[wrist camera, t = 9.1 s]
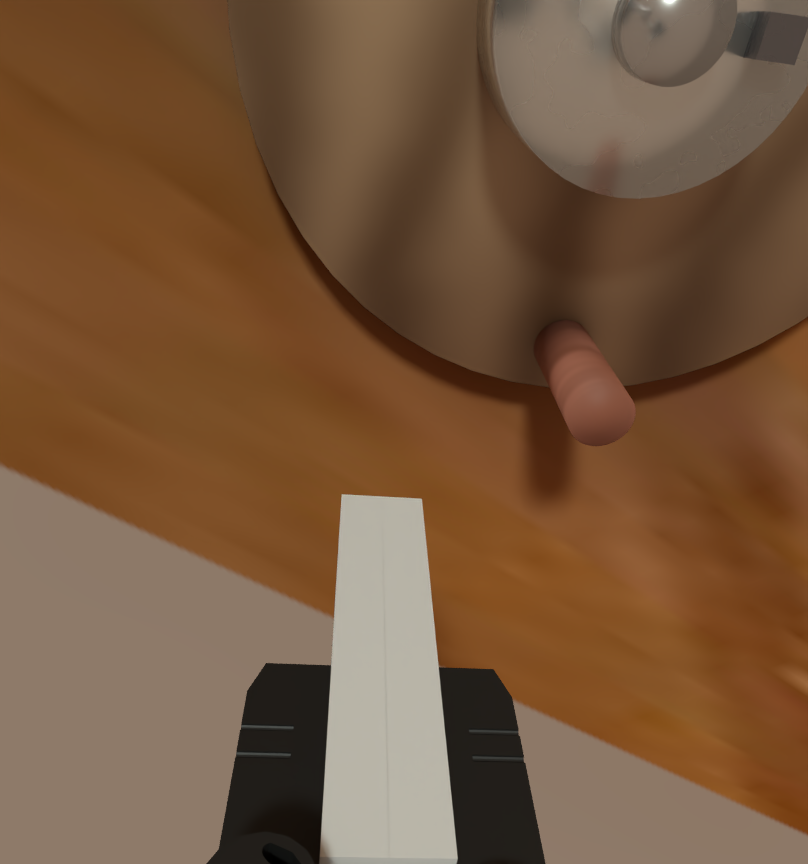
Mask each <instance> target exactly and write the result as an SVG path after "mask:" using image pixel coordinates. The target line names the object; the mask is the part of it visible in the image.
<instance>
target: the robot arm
mask: <svg viewBox="0 0 808 864" xmlns="http://www.w3.org/2000/svg"><path fill="white" fill-rule="evenodd" d="M523 757H524V755H523V750H522V745H521V740H520V736H519V735H518V725H517V720H516V715H515V710H514V705H513V700H512V697H511V695H510V694H509V692H508V691H507V689H506V688H505V686H504V685H503V683H502V682H501V680H500V679H499V677H498V676H497V674H496V673H495V671H494V670H493V669H468V668H440V667H438V657H437V647H436V637H435V627H434V617H433V607H432V597H431V587H430V577H429V567H428V557H427V547H426V537H425V527H424V517H423V507H422V499H415V498H397V497H379V496H361V495H343V494H342V499H341V515H340V531H339V546H338V562H337V578H336V593H335V609H334V627H333V643H332V658H331V665H330V666H329V665H302V664H273V663H266V664H265V666H264V667H263V669H262V670H261V672H260V673H259V675H258V676H257V678H256V679H255V680H254V682H253V683H252V685H251V686H250V688H249V689H248V691H247V696H246V702H245V707H244V713H243V718H242V725H241V730H240V735H239V740H238V746H237V753H236V758H235V762H234V769H233V773H232V779H231V785H230V790H229V796H228V801H227V807H226V813H225V818H224V823H223V830H222V835H221V840H220V846H219V850H218V851H217V852H216V853H215V854H214V856H213V857H212V858H211V859H210V860H209V862H208V863H207V864H545V859H544V854H543V850H542V844H541V840H540V834H539V829H538V824H537V820H536V815H535V810H534V805H533V800H532V795H531V790H530V785H529V780H528V775H527V770H526V765H525V763H524V760H523Z"/></svg>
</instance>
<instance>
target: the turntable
mask: <svg viewBox="0 0 808 864" xmlns="http://www.w3.org/2000/svg"><path fill="white" fill-rule="evenodd" d="M477 8H478V0H228V15H229V30H230V35H231V41H232V47H233V52H234V58H235V64H236V69H237V75H238V81H239V86H240V91H241V94H242V98H243V101H244V104H245V108H246V111H247V114H248V118H249V121H250V125H251V128H252V131H253V135H254V138H255V141H256V145H257V147H258V149H259V152H260V154H261V156H262V158H263V161H264V163H265V165H266V168H267V170H268V172H269V175H270V177H271V179H272V182H273V184H274V186H275V188H276V191H277V193H278V195H279V197H280V198H281V200H282V202H283V204H284V205H285V207H286V209H287V210H288V212H289V214H290V215H291V217H292V219H293V221H294V222H295V224H296V226H297V227H298V229H299V231H300V232H301V234H302V236H303V238H304V239H305V240H306V241H307V243H308V244H309V245H310V247H311V248H312V249H313V251H314V252H315V253H316V254H317V256H318V257H319V258H320V260H321V261H322V262H323V264H324V265H325V266H326V267H327V269H328V270H329V271H330V273H331V274H332V275H333V276H334V277H335V278H336V279H337V280H338V281H339V282H340V283H341V284H342V285H343V286H344V287H345V288H346V289H347V290H348V291H349V292H350V293H351V294H352V295H353V296H354V297H355V298H356V299H357V300H358V301H359V302H360V303H361V304H362V305H363V306H364V307H365V308H366V309H367V310H369V311H370V312H371V313H372V314H374V315H375V316H376V317H378V318H379V319H380V320H381V321H383V322H384V323H385V324H387V325H388V326H389V327H391V328H392V329H393V330H394V331H396V332H397V333H398V334H400V335H402V336H403V337H405V338H407V339H408V340H410V341H412V342H414V343H415V344H417V345H419V346H420V347H422V348H424V349H426V350H427V351H429V352H431V353H432V354H434V355H436V356H439V357H441V358H443V359H446V360H448V361H450V362H453V363H455V364H458V365H460V366H462V367H465V368H467V369H469V370H472V371H475V372H479V373H482V374H486V375H489V376H493V377H496V378H500V379H504V380H507V381H511V382H517V383H524V384H530V385H537V386H544V387H549V388H550V390H551V392H552V394H553V396H554V398H555V401H556V403H557V405H558V407H559V409H560V411H561V413H562V415H563V418H564V420H565V422H566V424H567V426H568V428H569V430H570V432H571V434H572V436H573V437H574V438H575V439H576V440H578V441H579V442H581V443H583V444H586V445H590V446H602V445H607V444H610V443H612V442H615V441H616V440H618V439H620V438H621V437H622V436H623V435H625V434H626V433H627V432H628V430H629V429H630V428H631V426H632V424H633V422H634V419H635V413H636V412H635V405H634V402H633V400H632V399H631V397H630V396H629V394H628V393H627V391H626V390H625V388H624V387H623V386H629V385H636V384H641V383H646V382H651V381H656V380H661V379H666V378H671V377H675V376H678V375H682V374H685V373H688V372H691V371H694V370H697V369H701V368H704V367H707V366H710V365H713V364H716V363H719V362H721V361H723V360H726V359H728V358H730V357H732V356H735V355H737V354H739V353H742V352H744V351H746V350H749V349H751V348H753V347H755V346H758V345H760V344H761V343H763V342H765V341H767V340H769V339H770V338H772V337H774V336H776V335H778V334H779V333H781V332H783V331H785V330H787V329H788V328H790V327H792V326H794V325H795V324H797V323H799V322H800V321H802V320H803V319H805V318H806V317H808V85H807V87H806V89H805V91H804V92H803V94H802V95H801V97H800V98H799V100H798V101H797V103H796V104H795V105H794V107H793V108H792V110H791V111H790V113H789V114H788V115H787V116H786V118H785V119H784V120H783V121H782V122H781V123H780V125H779V126H778V127H777V128H776V129H775V131H774V132H773V133H772V134H771V135H770V136H769V137H768V138H767V139H766V140H765V141H764V142H762V143H761V144H760V145H759V146H758V147H757V148H756V149H755V150H754V151H753V152H751V153H750V154H749V155H748V156H746V157H745V158H744V159H743V160H741V161H740V162H739V163H737V164H736V165H734V166H733V167H731V168H730V169H728V170H726V171H725V172H723V173H722V174H720V175H719V176H717V177H715V178H713V179H711V180H709V181H706V182H704V183H702V184H700V185H698V186H695V187H693V188H690V189H687V190H684V191H681V192H678V193H674V194H669V195H665V196H660V197H652V198H641V199H633V198H617V197H612V196H607V195H601V194H598V193H595V192H592V191H589V190H586V189H583V188H581V187H579V186H577V185H575V184H573V183H571V182H569V181H568V180H566V179H564V178H563V177H561V176H560V175H559V174H557V173H556V172H554V171H553V170H552V169H550V168H549V167H548V166H547V165H546V164H545V163H544V162H543V161H542V160H540V159H539V158H538V157H537V156H536V155H535V154H534V153H533V152H532V151H531V150H530V149H529V148H528V147H527V146H526V145H525V144H524V143H523V142H522V141H521V140H520V139H519V138H517V137H516V136H515V135H514V134H513V133H512V131H511V130H510V129H509V127H508V126H507V125H506V123H505V122H504V121H503V119H502V118H501V116H500V115H499V113H498V111H497V109H496V107H495V106H494V104H493V102H492V100H491V97H490V95H489V92H488V90H487V87H486V85H485V82H484V78H483V74H482V71H481V67H480V62H479V55H478V48H477V27H476V19H477Z"/></svg>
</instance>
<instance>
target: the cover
mask: <svg viewBox="0 0 808 864" xmlns="http://www.w3.org/2000/svg"><path fill="white" fill-rule="evenodd" d="M476 27H477V48H478V55H479V62H480V67H481V71H482V74H483V78H484V82H485V85H486V87H487V90H488V92H489V95H490V97H491V100H492V102H493V104H494V106H495V107H496V109H497V111H498V113H499V115H500V116H501V118H502V119H503V121H504V122H505V123H506V125H507V126H508V127H509V129H510V130H511V131H512V133H513V134H514V135H515V136H516V137H517V138H519V139H520V140H521V141H522V142H523V143H524V144H525V145H526V146H527V147H528V148H529V149H530V150H531V151H532V152H533V153H534V154H535V155H536V156H537V157H538V158H539V159H540V160H542V161H543V162H544V163H545V164H546V165H547V166H548V167H549V168H550V169H552V170H553V171H554V172H556V173H557V174H559V175H560V176H561V177H563V178H564V179H566V180H568V181H569V182H571V183H573V184H575V185H577V186H579V187H581V188H583V189H586V190H589V191H592V192H595V193H598V194H601V195H607V196H612V197H617V198H633V199H641V198H652V197H660V196H665V195H669V194H674V193H678V192H681V191H684V190H687V189H690V188H693V187H695V186H698V185H700V184H702V183H704V182H706V181H709V180H711V179H713V178H715V177H717V176H719V175H720V174H722V173H723V172H725V171H726V170H728V169H730V168H731V167H733V166H734V165H736V164H737V163H739V162H740V161H741V160H743V159H744V158H745V157H746V156H748V155H749V154H750V153H751V152H753V151H754V150H755V149H756V148H757V147H758V146H759V145H760V144H761V143H762V142H764V141H765V140H766V139H767V138H768V137H769V136H770V135H771V134H772V133H773V132H774V131H775V129H776V128H777V127H778V126H779V125H780V123H781V122H782V121H783V120H784V119H785V118H786V116H787V115H788V114H789V113H790V111H791V110H792V108H793V107H794V105H795V104H796V103H797V101H798V100H799V98H800V97H801V95H802V94H803V92H804V91H805V89H806V87H807V85H808V0H478V8H477V19H476Z"/></svg>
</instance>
